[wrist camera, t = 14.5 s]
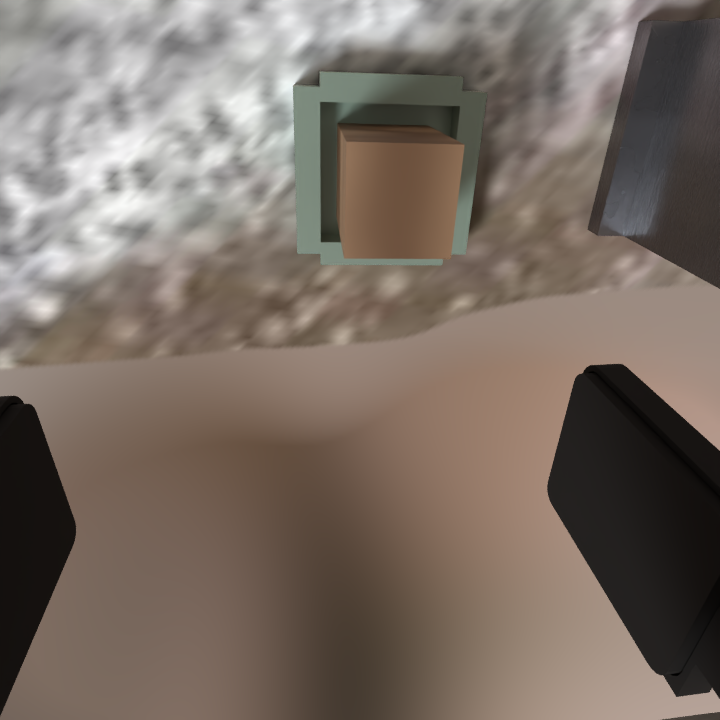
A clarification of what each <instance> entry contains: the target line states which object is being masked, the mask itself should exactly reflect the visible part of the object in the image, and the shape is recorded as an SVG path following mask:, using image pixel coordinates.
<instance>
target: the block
mask: <svg viewBox="0 0 720 720" xmlns="http://www.w3.org/2000/svg"><path fill="white" fill-rule="evenodd" d="M464 146H465V145H464V144H462V143H461V142H459V141H457V140H455V139H453V138H451V137H449V136H447V135H445V134H443V133H442V132H440V131H438V130H436V129H434V128H432V127H430V126H428V125H392V124H357V123H337V193H336V217H337V223H338V228H339V234H340V239H341V244H342V250H343V255H344V259H451V252H452V244H453V236H454V228H455V220H456V212H457V203H458V195H459V187H460V179H461V171H462V163H463V154H464Z"/></svg>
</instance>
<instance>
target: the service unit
mask: <svg viewBox="0 0 720 720" xmlns="http://www.w3.org/2000/svg"><path fill="white" fill-rule="evenodd" d="M588 230H589V231H591V232H592V233H594V234H596V235H597V236H625V237H627V238H628V239H630V240H632V241H634V242H636V243H637V244H639V245H641V246H643V247H645V248H647V249H648V250H650V251H652V252H654V253H656V254H657V255H659V256H661V257H663V258H665V259H667V260H668V261H670V262H672V263H674V264H676V265H677V266H679V267H681V268H683V269H685V270H687V271H688V272H690V273H692V274H694V275H696V276H698V277H699V278H701V279H703V280H705V281H707V282H708V283H710V284H712V285H714V286H716V287H718V288H719V289H720V18H713V19H703V20H694V21H685V22H681V21H661V20H650V21H642V22H639V24H638V28H637V32H636V36H635V40H634V44H633V48H632V52H631V56H630V60H629V64H628V68H627V72H626V76H625V80H624V84H623V88H622V92H621V97H620V101H619V105H618V109H617V113H616V117H615V121H614V125H613V129H612V133H611V137H610V141H609V145H608V149H607V153H606V157H605V161H604V165H603V169H602V173H601V177H600V181H599V186H598V190H597V194H596V198H595V202H594V206H593V210H592V214H591V218H590V222H589V226H588Z"/></svg>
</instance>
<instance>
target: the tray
mask: <svg viewBox="0 0 720 720" xmlns="http://www.w3.org/2000/svg"><path fill="white" fill-rule="evenodd" d="M463 79H464V77H460V76H442V75H415V74H388V73H360V72H333V71H319V85H298V84H294V85H293V101H294V140H295V179H296V217H297V254H320V261H321V265H442V262H443V259H344V255H343V250H342V244H341V239H340V234H339V228H338V223H337V217H336V193H337V123H357V124H392V125H428V126H430V127H432V128H434V129H436V130H438V131H440V132H442V133H443V134H445V135H447V136H449V137H451V138H453V139H455V140H457V141H459V142H461V143H462V144H464V145H465V146H464V154H463V163H462V171H461V179H460V187H459V195H458V203H457V212H456V220H455V228H454V236H453V244H452V252H451V254H466V247H467V240H468V232H469V225H470V218H471V210H472V203H473V196H474V188H475V181H476V174H477V166H478V159H479V151H480V144H481V137H482V129H483V122H484V115H485V107H486V100H487V92H481V91H473V90H462V88H463Z"/></svg>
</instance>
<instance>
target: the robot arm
mask: <svg viewBox="0 0 720 720" xmlns="http://www.w3.org/2000/svg"><path fill="white" fill-rule="evenodd" d="M547 487H548V489H547V490H548V496H549V499H550V502H551V504H552V506H553V507H554V509H555V510H556V512H557V514H558V515H559V517H560V519H561V520H562V522H563V524H564V525H565V527H566V529H567V530H568V532H569V533H570V535H571V537H572V539H573V540H574V542H575V543H576V545H577V547H578V549H579V550H580V552H581V554H582V555H583V557H584V558H585V560H586V562H587V564H588V565H589V567H590V568H591V570H592V572H593V573H594V575H595V577H596V578H597V580H598V582H599V583H600V585H601V587H602V588H603V590H604V592H605V593H606V595H607V597H608V598H609V600H610V602H611V603H612V605H613V607H614V608H615V610H616V611H617V613H618V615H619V617H620V618H621V620H622V621H623V623H624V625H625V626H626V628H627V630H628V631H629V633H630V635H631V636H632V638H633V640H634V641H635V643H636V645H637V646H638V648H639V650H640V651H641V653H642V655H643V656H644V658H645V660H646V661H647V663H648V664H649V666H650V667H651V668H652V670H654V671H655V672H656V673H657V674H659V675H663V676H664V677H665V679H666V681H667V682H668V684H669V685H670V687H671V689H672V690H673V692H674V694H675V695H676V697H679V696H686V695H693V694H701V693H708V692H710V690H711V688H713V690H714V691H715V692H716V694H717V695H718V697H719V698H720V451H719V450H718V449H717V448H716V447H715V446H713V445H712V444H711V443H710V442H709V441H708V440H707V439H706V438H705V437H703V435H701V434H700V433H699V432H698V431H697V430H696V429H695V428H694V427H693V426H691V425H690V424H689V423H688V422H687V421H686V420H685V419H684V418H683V417H681V416H680V415H679V414H678V413H677V412H676V411H675V410H674V409H673V408H671V407H670V406H669V405H668V404H667V403H666V402H665V401H664V400H663V399H661V398H660V397H659V396H658V395H657V394H656V393H655V392H653V390H651V389H650V388H649V387H648V386H647V385H646V384H645V383H644V382H643V381H641V380H640V379H639V378H638V377H637V376H636V375H635V374H634V373H632V372H631V371H630V370H629V369H628V368H627V367H626V366H624V365H622V364H607V365H590V366H588V367H587V368H586V369H585V370H584V372H583V374H579V375H578V376H577V377H576V378H575V381H574V384H573V388H572V392H571V396H570V400H569V404H568V407H567V411H566V415H565V419H564V423H563V427H562V431H561V434H560V438H559V442H558V446H557V449H556V453H555V457H554V461H553V465H552V469H551V472H550V476H549V480H548V486H547ZM75 536H76V525H75V520H74V517H73V514H72V512H71V509H70V506H69V503H68V500H67V497H66V494H65V492H64V489H63V486H62V483H61V480H60V478H59V475H58V472H57V469H56V467H55V463H54V461H53V458H52V455H51V452H50V449H49V446H48V444H47V441H46V438H45V435H44V432H43V429H42V426H41V424H40V421H39V418H38V415H37V412H36V410H35V408H34V407H33V406H32V405H30V404H24V403H23V401H22V400H21V399H20V398H19V397H17V396H1V397H0V715H1V713H2V711H3V708H4V706H5V703H6V701H7V699H8V696H9V694H10V692H11V690H12V687H13V685H14V683H15V680H16V678H17V675H18V673H19V671H20V668H21V666H22V664H23V661H24V659H25V657H26V654H27V652H28V650H29V647H30V645H31V643H32V640H33V638H34V636H35V633H36V631H37V629H38V626H39V624H40V622H41V619H42V617H43V614H44V612H45V610H46V608H47V605H48V603H49V600H50V598H51V596H52V593H53V591H54V589H55V586H56V584H57V582H58V579H59V577H60V575H61V572H62V570H63V568H64V565H65V563H66V560H67V558H68V556H69V554H70V551H71V549H72V546H73V544H74V541H75ZM663 720H720V712H717V713H708V714H701V715H693V716H685V717H678V718H671V719H663Z"/></svg>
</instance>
